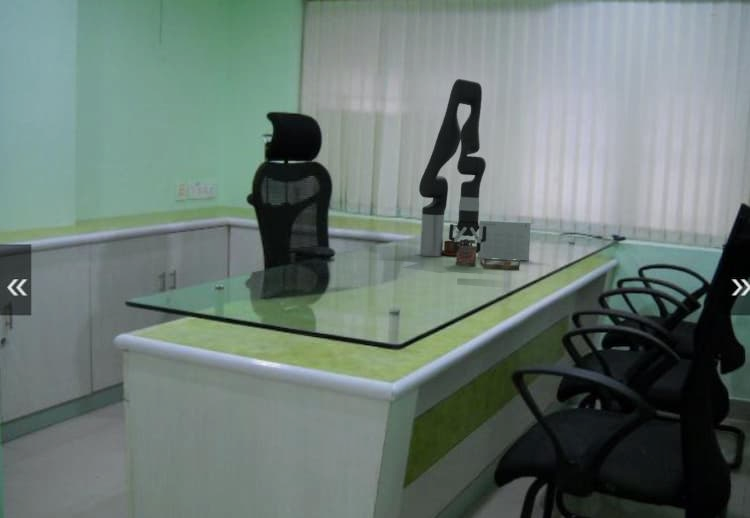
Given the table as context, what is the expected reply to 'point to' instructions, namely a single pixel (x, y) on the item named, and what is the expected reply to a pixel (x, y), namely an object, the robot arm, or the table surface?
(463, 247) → the lighter
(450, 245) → the cup and saucer
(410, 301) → the table surface
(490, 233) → the skincare box
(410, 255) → the table surface
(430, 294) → the table surface
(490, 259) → the shelf board
